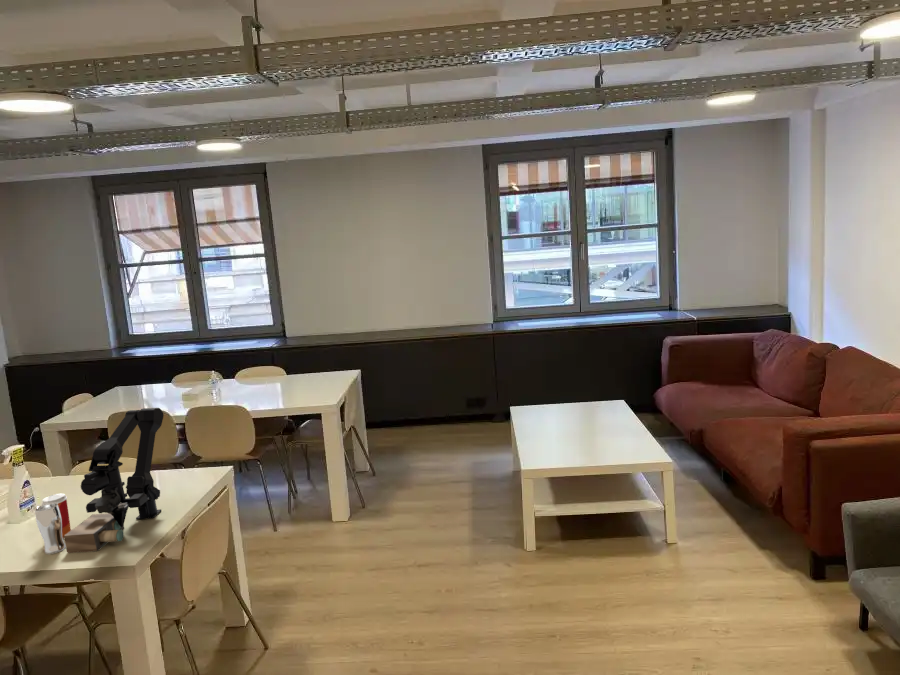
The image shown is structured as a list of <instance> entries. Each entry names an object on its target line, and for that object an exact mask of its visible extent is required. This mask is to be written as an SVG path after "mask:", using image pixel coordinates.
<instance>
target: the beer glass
mask: <svg viewBox="0 0 900 675" xmlns="http://www.w3.org/2000/svg"><path fill="white" fill-rule="evenodd" d="M34 514H35V522H36V524H37V529H38V532H39V533H40V536H41V538H42V539H43V542H44V543H43V544H44V554H45V555H53V554H58V553H60V552H63V551H64V550H65V549H66V544H65V540H64V538H63V537H62V518H61V513H60V510H59V507H58V504H57V503H49V504H45V505H42V504H41V505H39V506H37V507H36V508H34Z"/></svg>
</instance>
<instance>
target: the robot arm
mask: <svg viewBox="0 0 900 675" xmlns="http://www.w3.org/2000/svg"><path fill="white" fill-rule="evenodd" d="M163 420H164V412H163V411H162V409H161V408H159V407H147V408H146V407H145V408H144V407H143V408H141V409H134V410H133V409H132V410H128V411H126V412H125V415H124V417H123V418H122V420H121V421H120V423H119V424H118V426H117V427H116V428H115V430H114V431H113V433H112V434H111V435H110V437H109V438H108V439H106V440H105V441H103V442H101V443H100V444H99V445H98V446H97V447H96V448H95V449H94V451H93V452H92V457H91V460H90V465H89V468H88V471H89V472H88V473H85V474H84V475H83V479H82V480H81V483H80V490H81V491H82V492H83V494H85V495H87V496H92V495H95V494H96V493H98V492H100V491H101V492H100V493H101V496H100V497H99V498H98V497H97V498H94V499H91V501H89V502H87V504H86V506H85V509H86V510H85V511H86V513H95V512H98V514H105V513H109V514H111V515H112V516H113V517H114V518H115V520H116V521H117V522H118V524H119V525H120V527H123V525H124V526H125V522H126V517H127V513H128V509H129V508H130V509H133V508H137V512H138V516H136V517H135V520H145V519H147V520H148V519H154V518H155V517H156V516H157V515H159V513H161V512H162V509H158V507H157V502H156V500H158V499H159V498H160V497H161V490H160V489H159V488H157V487H155V486H154V484H155V482H154V478H153V476H152V474H151V469H152V462H153V454H154V449H155V448H154V447H155V440H156V434H157V432H158V431H159V429H160V428H161V427H162V424H163ZM136 427H138V429H139V431H140V436H139V443H138V448H137V454H136V455H137V456H136V462H135V467H134V468H135V470H134V472H133V474H132V475H131V476H130V475H129V476H128V477H127V478H126V484H125V481H123V480H122V477H121V473H120V467H121V466H123V464H124V463H123V462H122V461H119V460H120V459H121V457H122V455H123V453H124V452H123V448H124V444H125V443H126V441H127V440H128V439H129V437H130V436H131V434H132V433H133V432H134V430H135V429H136ZM125 485H126V486H125ZM124 486H125V488H124ZM124 489H126V490H125V491H124ZM125 492H126V493H125Z"/></svg>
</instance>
